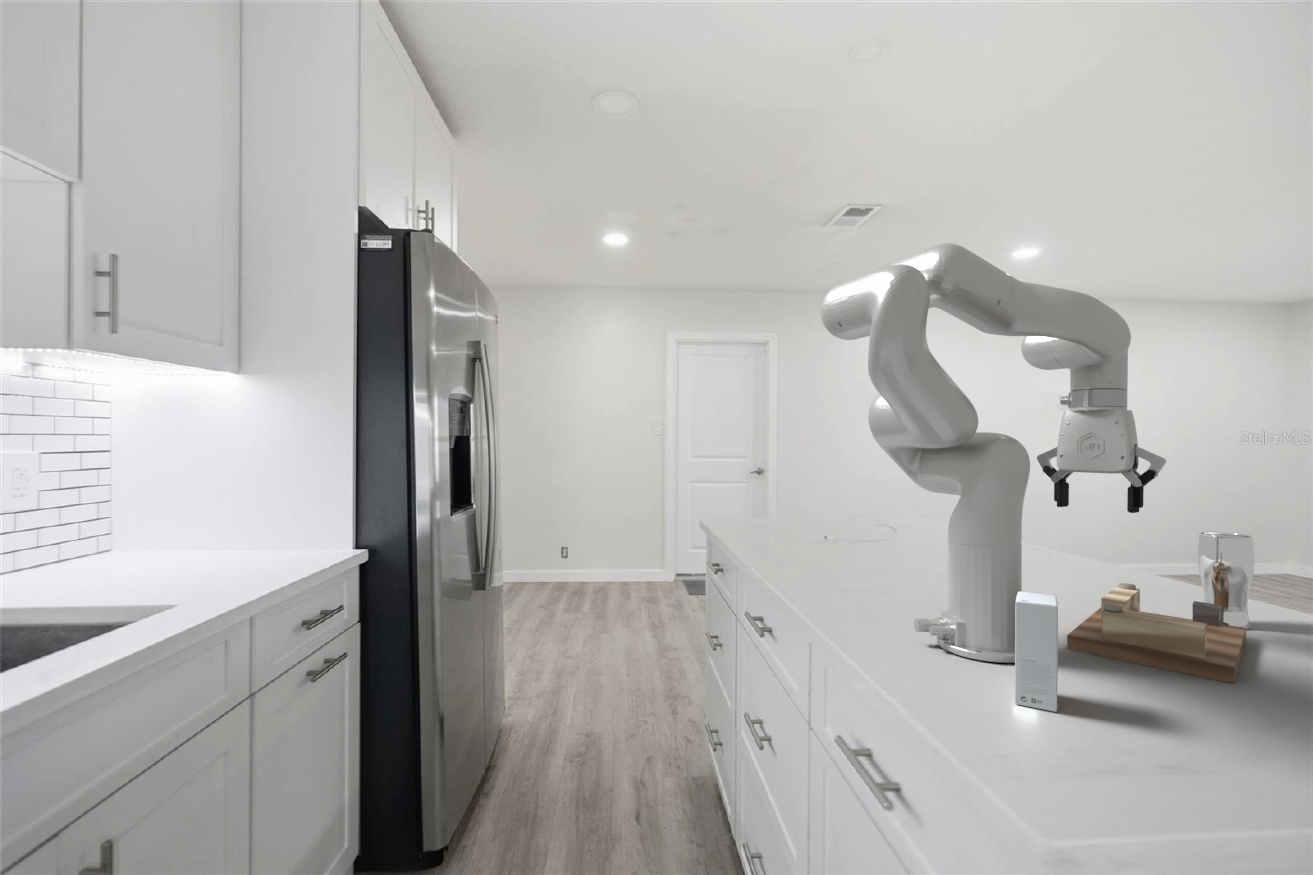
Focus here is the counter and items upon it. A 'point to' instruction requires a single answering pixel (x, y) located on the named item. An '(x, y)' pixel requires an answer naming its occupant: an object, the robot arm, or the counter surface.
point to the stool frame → (1165, 640)
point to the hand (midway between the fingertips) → (1096, 509)
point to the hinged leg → (1123, 598)
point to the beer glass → (1227, 574)
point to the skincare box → (1036, 650)
